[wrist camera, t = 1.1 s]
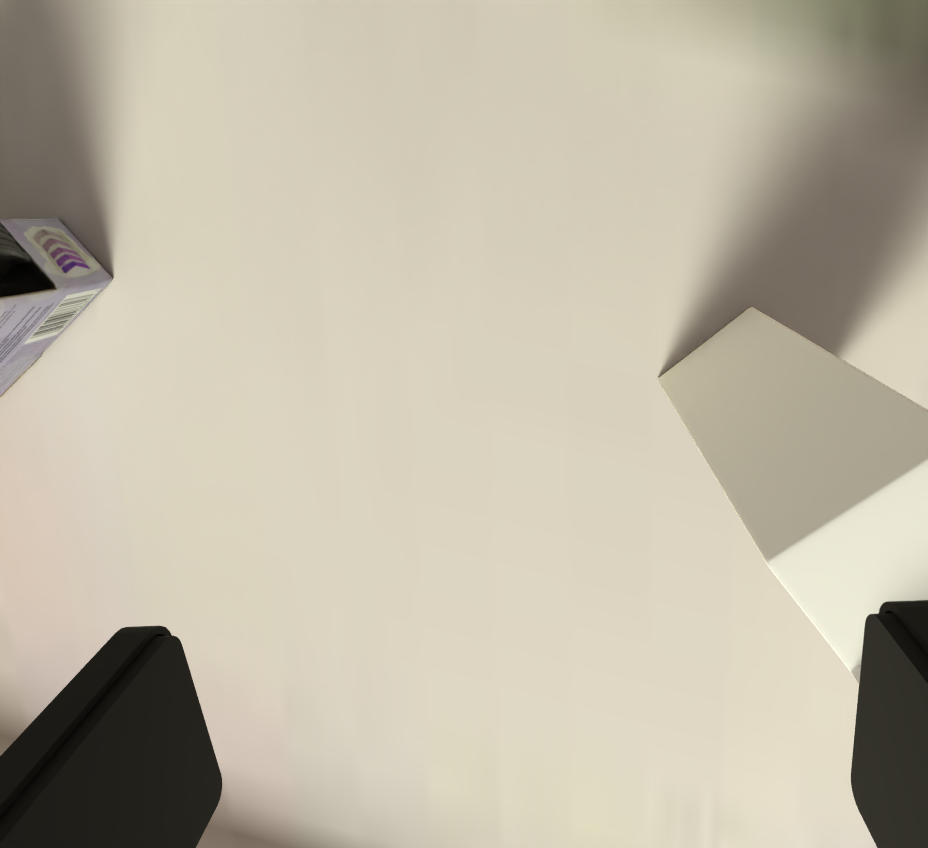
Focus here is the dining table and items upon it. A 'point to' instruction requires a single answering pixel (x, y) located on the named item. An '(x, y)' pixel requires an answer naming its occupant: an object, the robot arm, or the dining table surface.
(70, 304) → the cake pan box
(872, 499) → the milk
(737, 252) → the dining table surface
